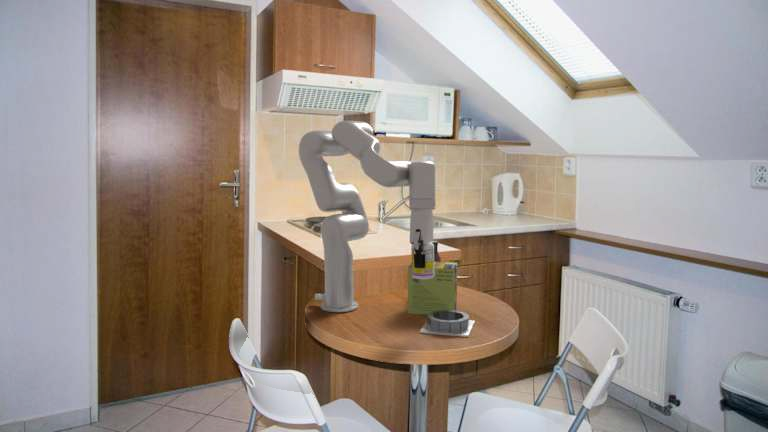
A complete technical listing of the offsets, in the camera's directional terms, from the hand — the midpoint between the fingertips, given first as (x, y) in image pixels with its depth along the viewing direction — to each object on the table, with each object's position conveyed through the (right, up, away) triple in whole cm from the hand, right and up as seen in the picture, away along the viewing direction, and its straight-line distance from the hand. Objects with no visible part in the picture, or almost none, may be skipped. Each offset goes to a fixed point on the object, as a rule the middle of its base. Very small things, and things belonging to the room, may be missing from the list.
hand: (423, 264), depth 160 cm
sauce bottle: (+7, -15, +41) cm, 44 cm away
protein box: (+5, -17, +20) cm, 27 cm away
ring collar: (+8, -19, +3) cm, 21 cm away
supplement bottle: (0, -4, 0) cm, 4 cm away
